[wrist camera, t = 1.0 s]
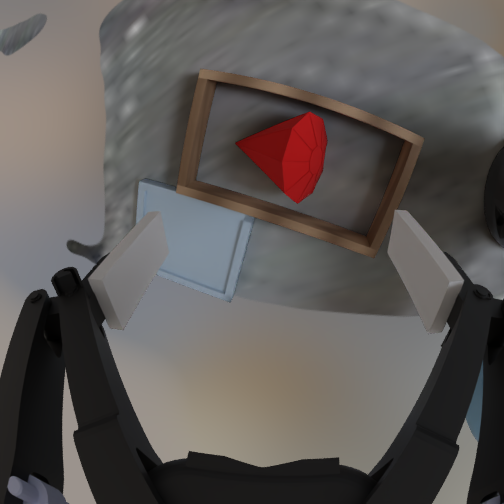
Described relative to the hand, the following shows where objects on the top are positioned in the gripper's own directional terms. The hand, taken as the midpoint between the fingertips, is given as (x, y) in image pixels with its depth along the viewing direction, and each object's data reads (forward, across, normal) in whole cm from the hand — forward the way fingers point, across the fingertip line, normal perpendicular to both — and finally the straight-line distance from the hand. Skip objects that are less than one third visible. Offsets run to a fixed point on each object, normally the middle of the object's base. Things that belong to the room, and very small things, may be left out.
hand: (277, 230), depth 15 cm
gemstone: (+17, 0, -1) cm, 17 cm away
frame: (+17, -2, -1) cm, 17 cm away
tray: (+18, +12, +10) cm, 23 cm away
